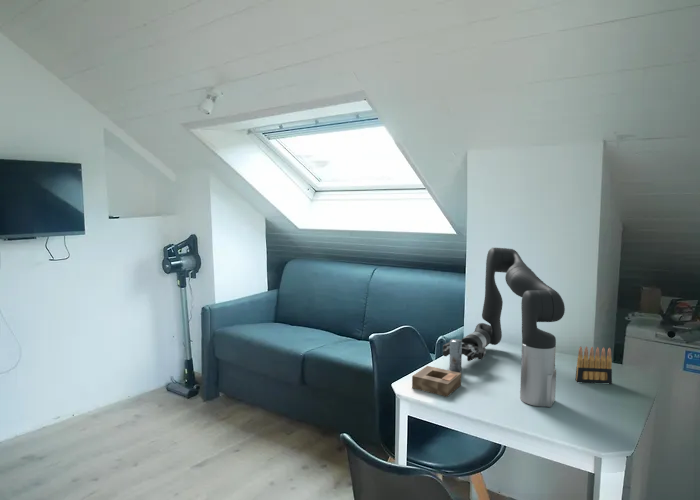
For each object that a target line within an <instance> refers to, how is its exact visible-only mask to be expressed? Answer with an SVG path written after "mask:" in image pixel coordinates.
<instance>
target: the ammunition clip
mask: <svg viewBox="0 0 700 500" xmlns="http://www.w3.org/2000/svg"><path fill="white" fill-rule="evenodd" d="M600 352H601V354H600ZM577 356H578V357H577V360H576V361H577V362H576V369H575V380H574V381H575V382H576V383H578V382H582V383H581V384H595V383H609V384H608V385H613V369H612V366H613V365H612V361H613V360H612V349H611V347H608V349H607V354H606V349H605V347H604V346H603V347H602V349H601V351H600V348H599V347H598V346H597V347H596V350H595V352H594V347H593V346H591V347H590V351H589V349H588V346H585V348H584V352H583V347H582V346H580V347H579V348H578V355H577Z"/></svg>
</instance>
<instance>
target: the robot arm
mask: <svg viewBox="0 0 700 500" xmlns="http://www.w3.org/2000/svg"><path fill="white" fill-rule="evenodd" d="M496 273H505V283H506V284H507V286H508V288H509V289H510V290H511V291H512V293H514V295H516V296H518V297H520V298H521V303H520V304H521V337H522V338H521V358H520V359H521V361H520V363H521V364H520V365H521V366H520V391H519V394H520V395H519V398H520V401H522V402H524V403H525V404H528V405H530V406H534V407H547V408H552V406H553V404H554V402H555V401H556V385H557V369H556V368H555V366H556V350H557V349H556V347H557V346H556V343H557V339H556V336H555V335H554V334H552V333H550V332H548V331H545V330H542V329H540V328H539V327H538V325H537V323H555V322H559V321H560V320H561V319H562V318H563V317H564V315H565V313H566V312H565V311H566V308H565V301H564V300H563V298H562V296H561V295H560V293H559V292H558V291H557V290H555V289H554V288H552V287H551V286H550V285H547V284H546V283H545V282H544V281H543V280H542V279H540V277H538V276H537V274H536V273H535V272H534V271H533V270H532V269H531V268H530V267H529V266H528V265H527V264H526V263H525V262H524V260H523V259H522V257H521V256H520V255H519V252H518V251H516V250H515V249H513V248H505V247H491V248H490V249H489V250H488V251H487V255H486V260H485V283H484V284H485V289H484V299H483V300H484V301H483V306H482V311H481V317H482V320H484V321H485V322H487V323H483V322H480V323H479V322H478V323H477V324H476V326H475V329H474V331H473V332H471V333H469V334H467V335H466V336H464V337H463V338H461V339H460V340H462V355H464V356H465V357H467V358H466V361H467V362H471V361H474V360H475V359H478V360H482V359H484V358H485V356H486V352H487V351H486V350H487V349H486V348H487V347H488V346H489V344H490V345H493V346H496V345H498V344H500V343H501V340H502V337H503V333H502V325H501V316H502V310H503V304H504V303H503V297H502V294H501V292H500V290H499V288H498V286H497V283H496V278H495V276H496ZM442 355H443V357H447V356H450V341H449V342H447V343H445V344H442Z"/></svg>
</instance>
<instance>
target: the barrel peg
mask: <svg viewBox="0 0 700 500" xmlns="http://www.w3.org/2000/svg"><path fill="white" fill-rule="evenodd" d="M449 342H450V354H449V365H448V367H449V369H448V370H449V371H454V372H458V373H461V374H462V361H463V360H462V359H463V358H462V355H463V354H462V340H461V339H458V338H451V339H450V340H449Z"/></svg>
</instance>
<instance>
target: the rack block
mask: <svg viewBox="0 0 700 500" xmlns="http://www.w3.org/2000/svg"><path fill="white" fill-rule="evenodd" d="M411 376H412V380H411V382H412V384H411V386H412V387H411V389H414V388H415V390H418V389H419V391H422V390H423V391H424V392H426V391H427V392H426V393H431V394H434V395H439V396H443V397H447V398H448V397H450V395H451V394H453V392H455V391H456V390H457V389H459V387H461V386H462V372H461V373H458V372H454V371H449V369H444V368H441V367H435V366H429V365H426V366H425V367H423V368H421V369H420V370H419V371H417V372H416V373H415V374H412V375H411ZM423 391H422V392H423Z"/></svg>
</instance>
